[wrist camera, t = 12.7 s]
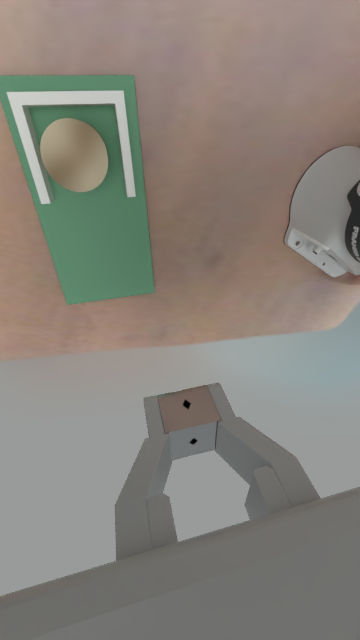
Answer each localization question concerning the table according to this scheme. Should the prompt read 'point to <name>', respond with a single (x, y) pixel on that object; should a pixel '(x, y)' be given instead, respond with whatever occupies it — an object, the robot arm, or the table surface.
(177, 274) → the table surface
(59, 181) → the maple canister
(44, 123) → the putting green
